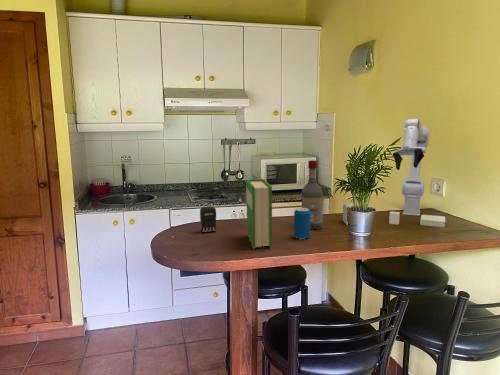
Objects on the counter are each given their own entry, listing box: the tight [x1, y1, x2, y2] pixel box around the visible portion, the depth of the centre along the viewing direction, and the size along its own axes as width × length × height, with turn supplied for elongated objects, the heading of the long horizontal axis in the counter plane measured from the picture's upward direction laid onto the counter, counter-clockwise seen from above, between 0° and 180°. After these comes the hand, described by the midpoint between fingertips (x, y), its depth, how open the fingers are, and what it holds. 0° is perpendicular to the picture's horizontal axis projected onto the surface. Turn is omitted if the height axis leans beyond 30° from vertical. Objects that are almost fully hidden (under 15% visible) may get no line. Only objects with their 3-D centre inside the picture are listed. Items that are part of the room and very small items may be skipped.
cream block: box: [388, 211, 401, 225], centre depth 180 cm, size 4×4×5 cm
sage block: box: [419, 214, 446, 228], centre depth 179 cm, size 10×10×2 cm
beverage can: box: [293, 207, 311, 240], centre depth 160 cm, size 6×6×12 cm
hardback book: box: [245, 178, 273, 248], centre depth 154 cm, size 18×7×24 cm, turn 7°
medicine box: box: [342, 202, 353, 226], centre depth 181 cm, size 8×4×9 cm, turn 179°
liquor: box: [301, 159, 324, 230], centre depth 174 cm, size 9×9×30 cm
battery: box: [199, 205, 217, 231], centre depth 170 cm, size 7×4×11 cm, turn 102°
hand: (406, 168), depth 169 cm, fingers open, 7 cm apart
